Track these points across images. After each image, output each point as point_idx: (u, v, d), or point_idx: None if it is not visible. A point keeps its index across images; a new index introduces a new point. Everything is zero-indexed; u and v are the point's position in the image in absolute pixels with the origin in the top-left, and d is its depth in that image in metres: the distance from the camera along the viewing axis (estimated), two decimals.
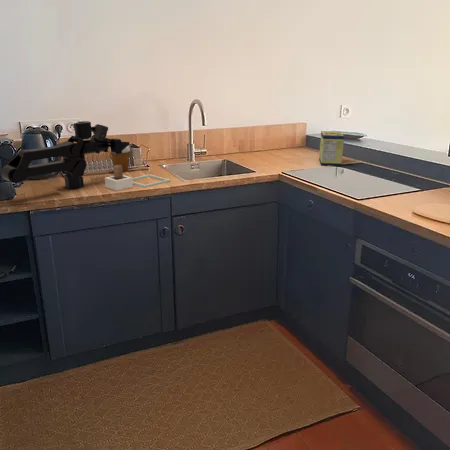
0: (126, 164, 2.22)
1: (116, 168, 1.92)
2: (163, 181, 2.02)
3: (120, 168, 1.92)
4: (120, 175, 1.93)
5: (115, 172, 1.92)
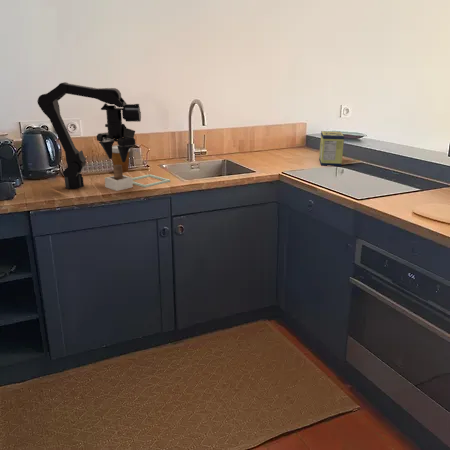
0: (126, 164, 2.22)
1: (116, 168, 1.92)
2: (163, 181, 2.02)
3: (120, 168, 1.92)
4: (120, 175, 1.93)
5: (115, 172, 1.92)
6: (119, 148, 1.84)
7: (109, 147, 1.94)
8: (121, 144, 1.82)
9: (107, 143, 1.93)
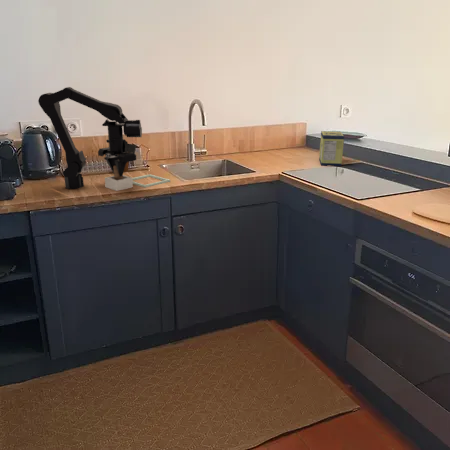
0: (126, 164, 2.22)
1: (116, 168, 1.92)
2: (163, 181, 2.02)
3: None
4: None
5: (115, 172, 1.92)
6: (116, 163, 1.88)
7: (114, 163, 1.94)
8: (122, 160, 1.84)
9: (112, 159, 1.93)
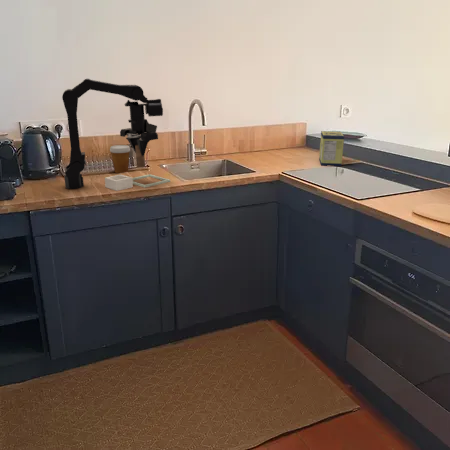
0: (126, 164, 2.22)
1: (138, 147, 1.96)
2: (163, 181, 2.02)
3: None
4: None
5: (137, 151, 1.97)
6: (138, 142, 1.92)
7: (136, 143, 1.98)
8: (144, 139, 1.89)
9: (134, 139, 1.98)
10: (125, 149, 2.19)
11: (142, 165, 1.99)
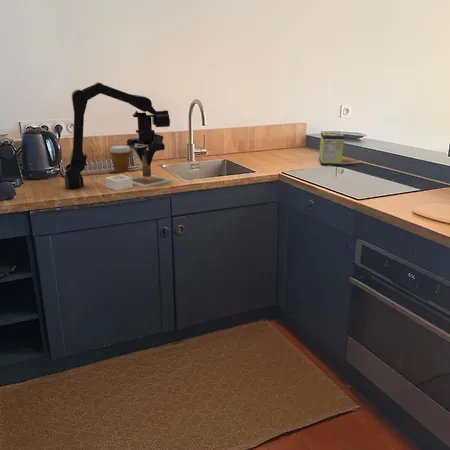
0: (126, 164, 2.22)
1: (145, 157, 2.00)
2: (163, 181, 2.02)
3: None
4: None
5: (144, 161, 2.00)
6: (145, 152, 1.96)
7: (142, 153, 2.02)
8: (152, 149, 1.92)
9: (141, 149, 2.01)
10: (125, 149, 2.19)
11: (148, 174, 2.03)
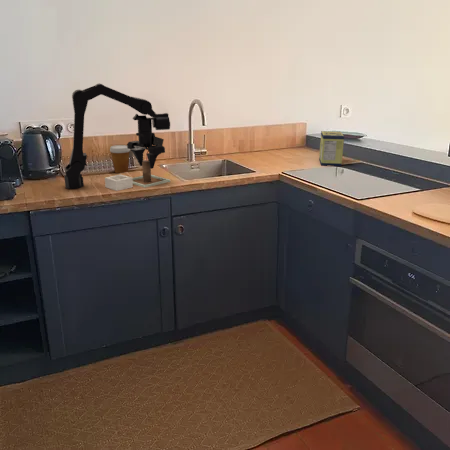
0: (126, 164, 2.22)
1: (145, 164, 2.01)
2: (163, 181, 2.02)
3: None
4: (148, 171, 2.02)
5: (144, 168, 2.02)
6: (148, 155, 1.96)
7: (140, 155, 2.04)
8: (152, 152, 1.93)
9: (138, 151, 2.03)
10: (125, 149, 2.19)
11: (148, 181, 2.04)
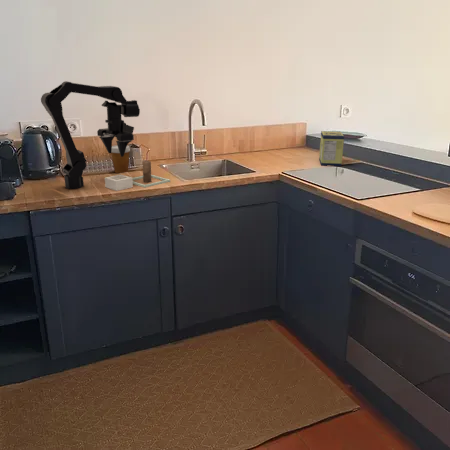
0: (126, 164, 2.22)
1: (145, 164, 2.01)
2: (163, 181, 2.02)
3: (149, 164, 2.01)
4: (149, 171, 2.02)
5: (144, 168, 2.01)
6: (118, 143, 1.94)
7: (109, 142, 2.03)
8: (120, 139, 1.91)
9: (107, 138, 2.02)
10: None
11: (149, 181, 2.04)
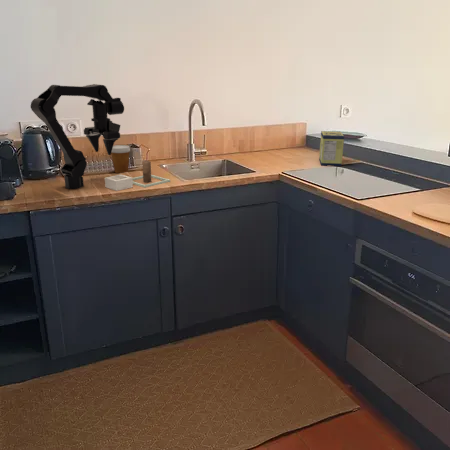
0: (126, 164, 2.22)
1: (145, 164, 2.01)
2: (163, 181, 2.02)
3: (149, 164, 2.01)
4: (149, 171, 2.02)
5: (144, 168, 2.01)
6: (104, 141, 1.94)
7: (96, 140, 2.03)
8: (106, 137, 1.92)
9: (94, 137, 2.02)
10: (125, 149, 2.19)
11: (149, 181, 2.04)
